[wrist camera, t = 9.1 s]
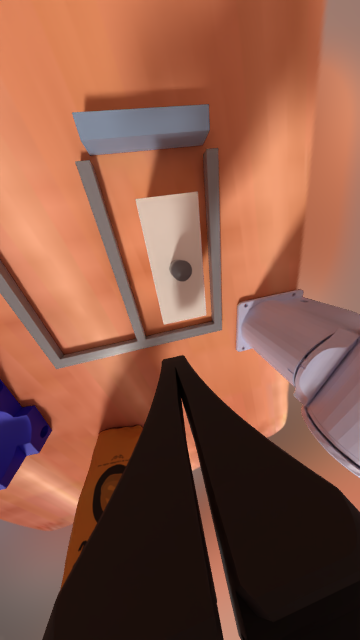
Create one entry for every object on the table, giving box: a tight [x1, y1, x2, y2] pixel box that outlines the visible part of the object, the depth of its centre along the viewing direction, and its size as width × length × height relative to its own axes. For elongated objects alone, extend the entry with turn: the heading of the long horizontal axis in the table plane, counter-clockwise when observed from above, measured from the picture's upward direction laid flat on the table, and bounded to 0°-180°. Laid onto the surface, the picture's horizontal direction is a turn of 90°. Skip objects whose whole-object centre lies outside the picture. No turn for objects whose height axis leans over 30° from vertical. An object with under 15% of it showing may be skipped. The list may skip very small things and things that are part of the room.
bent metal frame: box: [0, 148, 222, 369], centre depth 14 cm, size 21×17×1 cm
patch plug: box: [136, 192, 206, 324], centre depth 12 cm, size 4×8×8 cm, turn 8°
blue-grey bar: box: [72, 104, 210, 156], centre depth 10 cm, size 9×1×2 cm, turn 98°
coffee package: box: [61, 425, 142, 588], centre depth 17 cm, size 10×12×22 cm
